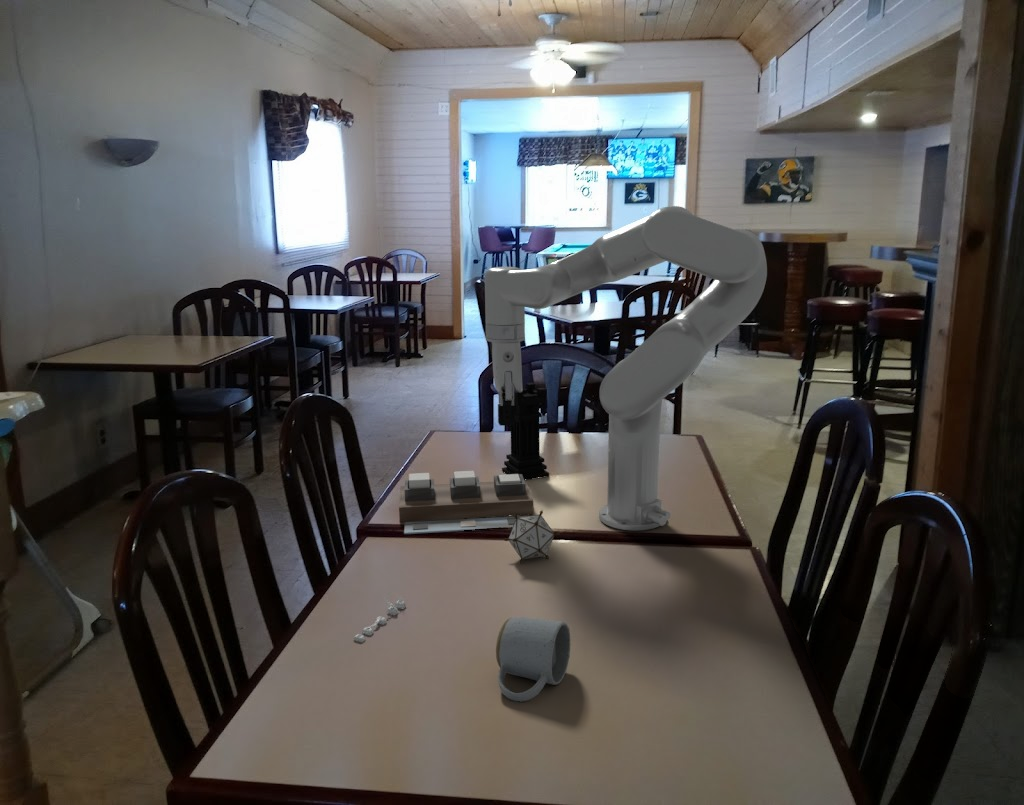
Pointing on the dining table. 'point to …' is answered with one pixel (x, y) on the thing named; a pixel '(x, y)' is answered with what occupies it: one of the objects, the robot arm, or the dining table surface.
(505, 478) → the button
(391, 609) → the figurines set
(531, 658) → the ceramic mug
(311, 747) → the dining table surface
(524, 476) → the chess piece
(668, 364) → the robot arm
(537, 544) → the game die
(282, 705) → the dining table surface
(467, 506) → the board
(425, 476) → the button
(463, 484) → the button middle
